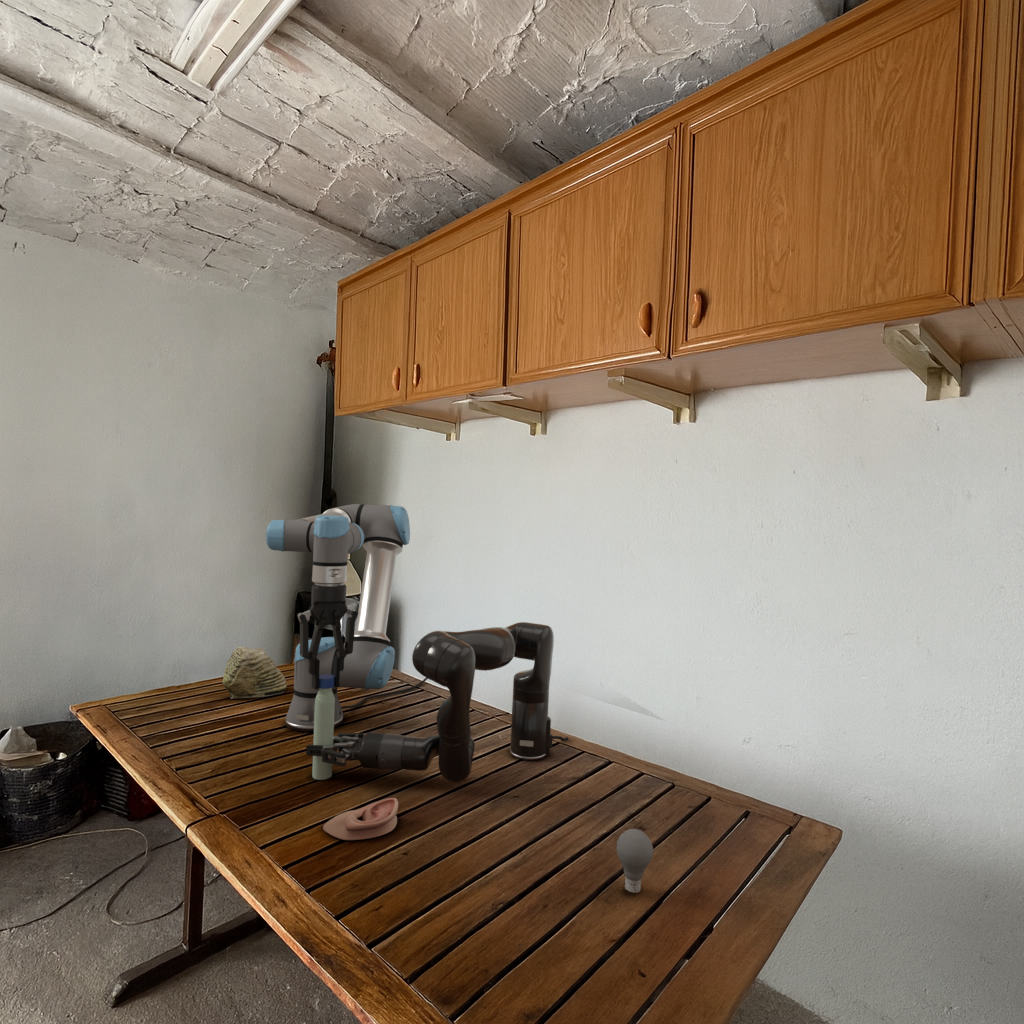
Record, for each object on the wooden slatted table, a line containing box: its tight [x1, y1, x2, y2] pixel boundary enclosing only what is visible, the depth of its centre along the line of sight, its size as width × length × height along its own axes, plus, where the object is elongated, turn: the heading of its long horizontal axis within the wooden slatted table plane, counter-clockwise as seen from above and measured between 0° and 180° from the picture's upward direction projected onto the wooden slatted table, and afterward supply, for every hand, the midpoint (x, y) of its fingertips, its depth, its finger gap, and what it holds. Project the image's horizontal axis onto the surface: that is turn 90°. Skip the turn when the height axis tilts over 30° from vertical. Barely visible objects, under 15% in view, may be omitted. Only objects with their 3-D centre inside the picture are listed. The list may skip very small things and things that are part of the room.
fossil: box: [222, 646, 288, 699], centre depth 198 cm, size 9×18×15 cm, turn 132°
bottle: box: [311, 688, 335, 781], centre depth 144 cm, size 4×4×22 cm
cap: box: [319, 674, 335, 689], centre depth 143 cm, size 4×4×2 cm
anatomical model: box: [322, 797, 399, 841], centre depth 122 cm, size 13×4×12 cm
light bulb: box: [615, 828, 654, 894], centre depth 106 cm, size 6×6×10 cm
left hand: (325, 686), depth 143 cm, fingers closed on cap, 4 cm apart
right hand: (311, 745), depth 144 cm, fingers closed on bottle, 4 cm apart
